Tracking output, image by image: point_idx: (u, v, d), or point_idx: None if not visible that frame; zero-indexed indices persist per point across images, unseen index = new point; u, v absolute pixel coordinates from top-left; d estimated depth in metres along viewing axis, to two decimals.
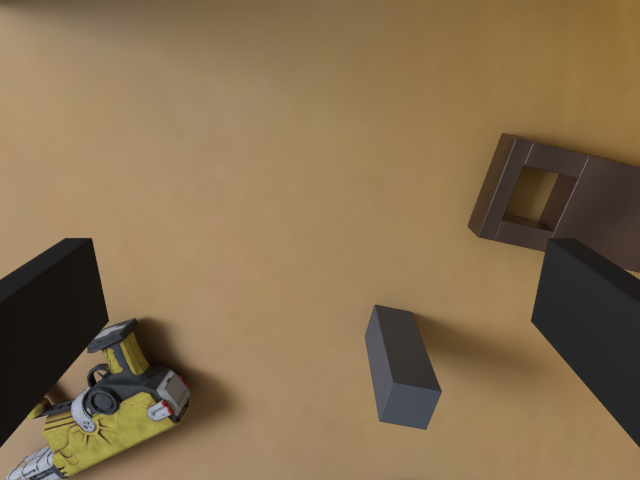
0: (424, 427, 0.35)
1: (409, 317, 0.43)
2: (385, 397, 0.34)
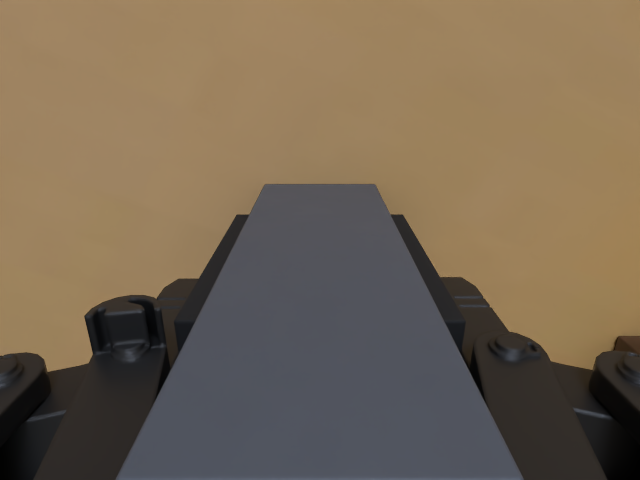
0: None
1: None
2: (323, 435, 0.05)
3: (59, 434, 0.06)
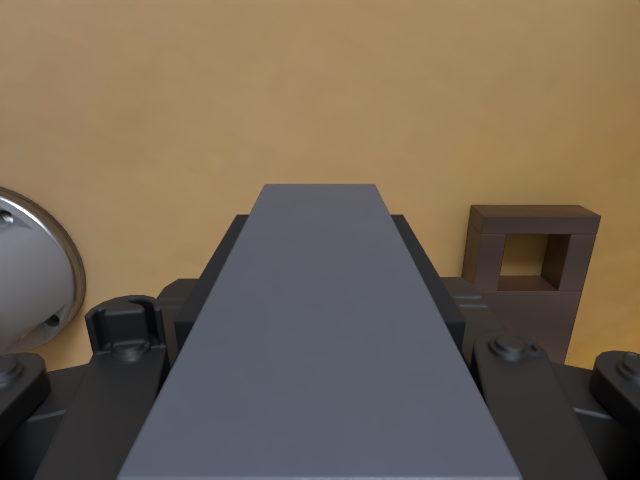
0: None
1: None
2: (323, 435, 0.05)
3: (59, 434, 0.06)
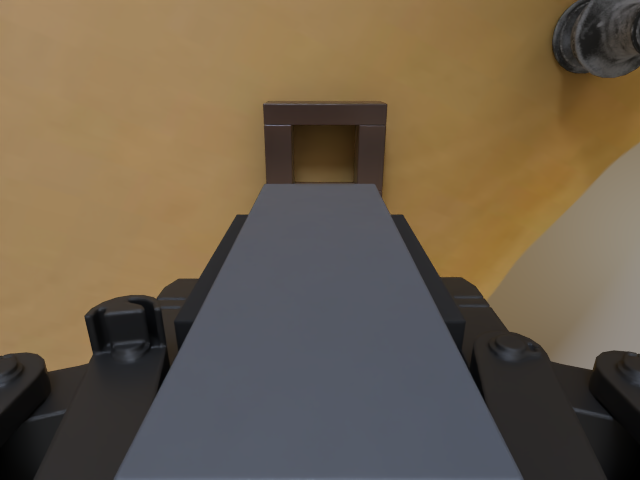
0: None
1: None
2: (322, 436, 0.05)
3: (59, 434, 0.06)
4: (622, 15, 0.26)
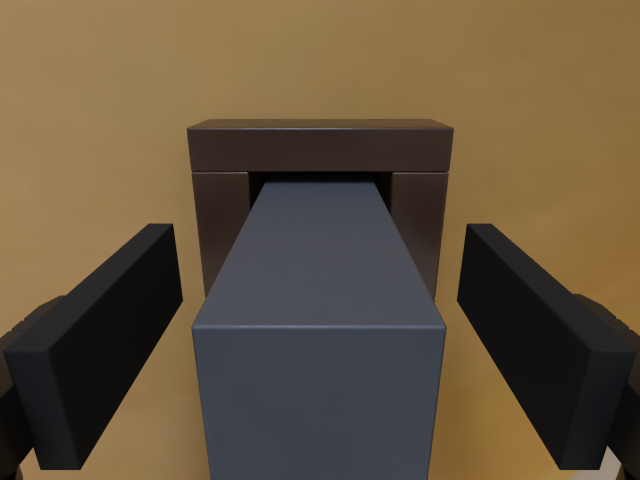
0: None
1: None
2: (321, 307, 0.07)
3: None
4: None
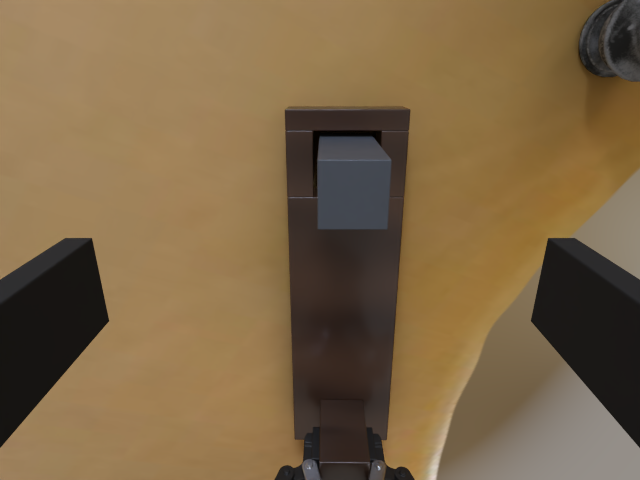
0: (321, 226, 0.24)
1: None
2: (354, 157, 0.23)
3: None
4: None
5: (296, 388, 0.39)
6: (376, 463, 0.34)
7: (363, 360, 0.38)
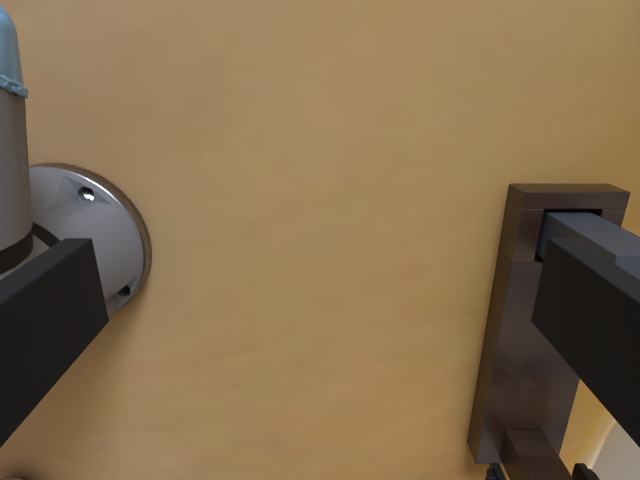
0: None
1: None
2: None
3: None
4: None
5: (486, 420, 0.45)
6: None
7: (550, 396, 0.44)
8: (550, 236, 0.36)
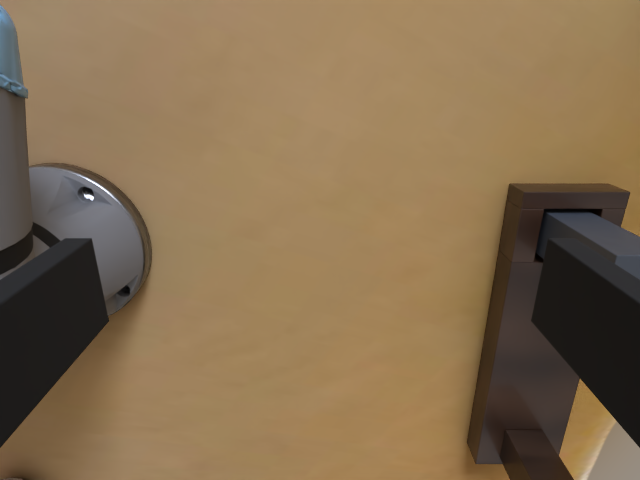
0: None
1: None
2: None
3: None
4: None
5: (486, 420, 0.45)
6: None
7: (550, 396, 0.44)
8: (550, 236, 0.36)
